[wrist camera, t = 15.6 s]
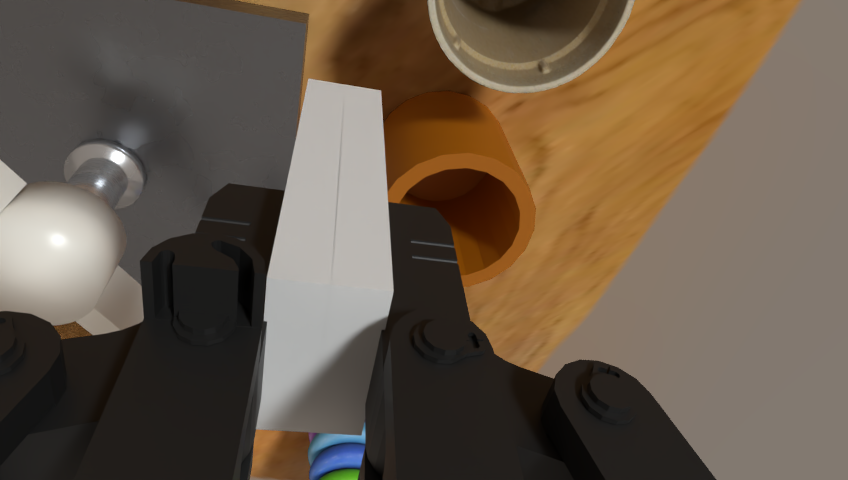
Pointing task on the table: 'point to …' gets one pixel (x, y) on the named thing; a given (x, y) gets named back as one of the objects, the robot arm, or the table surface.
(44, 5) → the base plate
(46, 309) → the white lever
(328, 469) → the stacking toy
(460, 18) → the flower pot
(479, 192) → the mug
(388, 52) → the table surface
